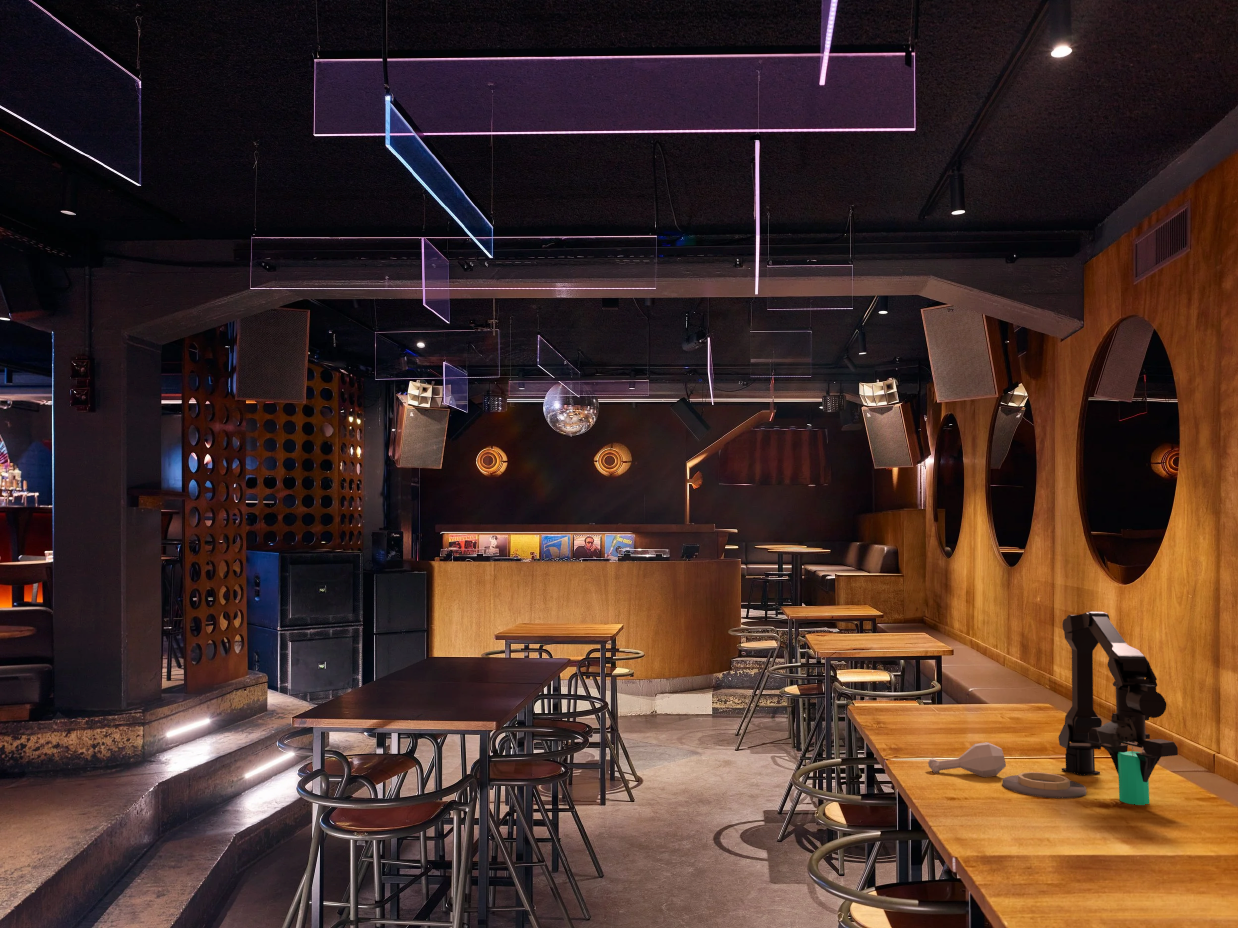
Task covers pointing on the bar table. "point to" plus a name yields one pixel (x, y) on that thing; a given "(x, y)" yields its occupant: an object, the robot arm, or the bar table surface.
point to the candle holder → (1044, 785)
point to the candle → (1131, 779)
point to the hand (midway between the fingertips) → (1132, 780)
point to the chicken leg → (975, 761)
